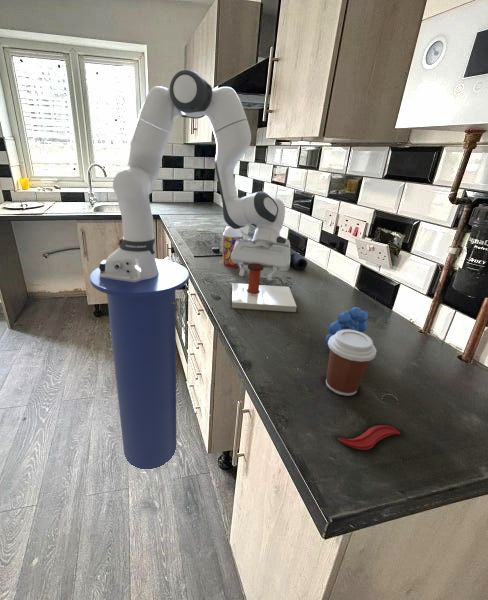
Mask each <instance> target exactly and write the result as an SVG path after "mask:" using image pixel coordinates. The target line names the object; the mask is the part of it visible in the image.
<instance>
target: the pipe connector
mask: <svg viewBox="0 0 488 600" xmlns="http://www.w3.org/2000/svg"><path fill="white" fill-rule="evenodd" d="M290 266H293V267H294V268H295V269H296V270H298V271H303V270H305V269H306V268H307V266H308V261H307V260H306V259H305V258H304V257H302V255H300V254H299V253H297V252H296V251H294V249H292V248H290Z"/></svg>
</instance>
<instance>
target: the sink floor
mask: <svg viewBox="0 0 488 600" xmlns="http://www.w3.org/2000/svg"><path fill="white" fill-rule="evenodd" d="M248 284H249V283H232V287H231V290H232V291H231V293H232V294H231V308H232V309H240V310H241V309H244V310H255V311H256V310H257V311H271V312H288V313H296V312H297V308H298V306H297V304H296V301H295V298H294V296H293V293H292V291H291V288H290V286H284V285H283V286H281V285H268V284H259V291H258V293H257V294H251V293H248Z"/></svg>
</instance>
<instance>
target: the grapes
mask: <svg viewBox="0 0 488 600" xmlns="http://www.w3.org/2000/svg"><path fill="white" fill-rule="evenodd" d="M368 318H369V313H368V311H367V310H362V309H361V308H360V307H359V306H354V307H352V308H351V309H349V311H342V312H340V313H339V314H338V316H337V320H335V321H333V322H331V324H329V326H328V334H327V335H326V336H325V344H326V345H328V340H329V339H330V337H331V336H333V335H335V334H336V333H337V332H338V331H340V330H346V329H348V330H355V331H359V332H361V333H363V332H365V331H367V330H368V327H369V323H368Z"/></svg>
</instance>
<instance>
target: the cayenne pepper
mask: <svg viewBox="0 0 488 600" xmlns="http://www.w3.org/2000/svg"><path fill="white" fill-rule="evenodd" d="M392 435H401V432H400V431H399V430H398V429H396V428H394V427H393V426H390V425H382V424H377V425H374V426H372V427H369V428H368V429H367V430H366V431H365V432H364V433H362V434H360V435H359V436H357V437H355V438H337V440H338V441H339V442H340V443H342V444H344V445H346V446H348V447H350V448H352V449H357V450H360V451H361V450H362V451H366V450H370V449H372V448H373V447H374V446H375V445H376V444H377V443H378V442H379V441H381V440H382V439H384V438H388V437H389V436H392Z"/></svg>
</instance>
